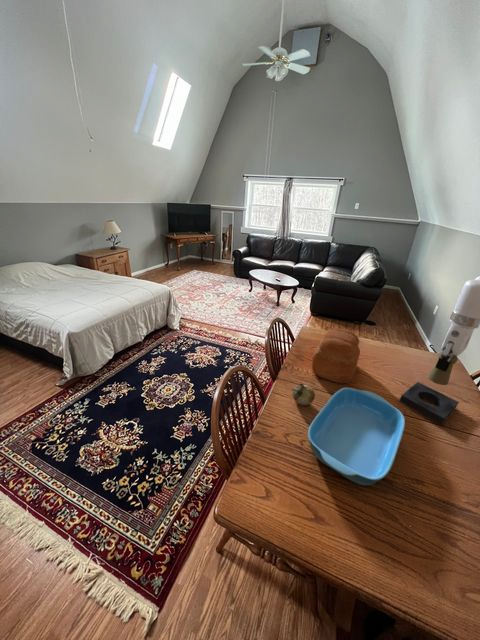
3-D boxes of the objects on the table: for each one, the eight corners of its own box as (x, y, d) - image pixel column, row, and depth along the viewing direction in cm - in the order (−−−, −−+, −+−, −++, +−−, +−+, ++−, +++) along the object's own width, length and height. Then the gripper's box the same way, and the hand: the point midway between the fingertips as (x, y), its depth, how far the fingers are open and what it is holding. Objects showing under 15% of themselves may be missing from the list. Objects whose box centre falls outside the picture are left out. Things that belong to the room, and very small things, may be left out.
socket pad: (455, 408, 99) (458, 402, 98) (441, 425, 91) (444, 418, 90) (415, 387, 109) (417, 381, 108) (399, 401, 101) (401, 395, 100)
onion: (307, 412, 94) (310, 394, 90) (287, 401, 98) (290, 384, 95) (316, 401, 99) (320, 384, 96) (297, 391, 104) (300, 374, 100)
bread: (307, 374, 114) (313, 340, 106) (320, 351, 131) (326, 320, 124) (350, 389, 106) (360, 353, 99) (357, 363, 123) (366, 330, 116)
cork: (446, 387, 91) (459, 360, 86) (426, 379, 95) (437, 353, 90) (449, 379, 95) (461, 353, 91) (429, 372, 99) (440, 346, 94)
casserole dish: (374, 514, 64) (382, 496, 61) (292, 459, 77) (296, 441, 74) (404, 424, 91) (411, 408, 87) (340, 394, 103) (344, 379, 100)
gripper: (471, 330, 77) (447, 381, 85) (487, 317, 87) (465, 364, 95) (441, 321, 83) (422, 369, 90) (460, 309, 92) (440, 354, 100)
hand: (444, 366), depth 93 cm, fingers closed on cork, 5 cm apart
